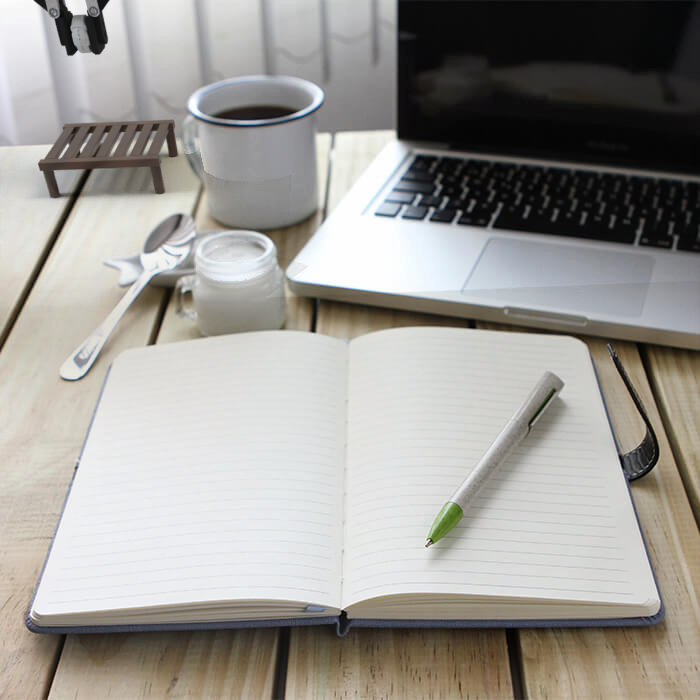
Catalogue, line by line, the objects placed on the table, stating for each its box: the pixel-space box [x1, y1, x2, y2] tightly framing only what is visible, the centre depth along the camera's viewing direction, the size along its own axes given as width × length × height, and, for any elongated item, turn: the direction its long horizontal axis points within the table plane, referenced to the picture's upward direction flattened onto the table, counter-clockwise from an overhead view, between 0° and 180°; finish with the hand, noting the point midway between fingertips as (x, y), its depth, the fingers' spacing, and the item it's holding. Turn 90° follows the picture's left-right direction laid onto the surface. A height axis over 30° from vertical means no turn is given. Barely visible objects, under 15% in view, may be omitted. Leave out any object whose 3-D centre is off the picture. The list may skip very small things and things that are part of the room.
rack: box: [37, 119, 179, 199], centre depth 97 cm, size 14×12×4 cm
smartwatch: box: [71, 13, 93, 54], centre depth 87 cm, size 4×2×4 cm, turn 3°
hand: (86, 50), depth 88 cm, fingers closed on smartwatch, 2 cm apart
